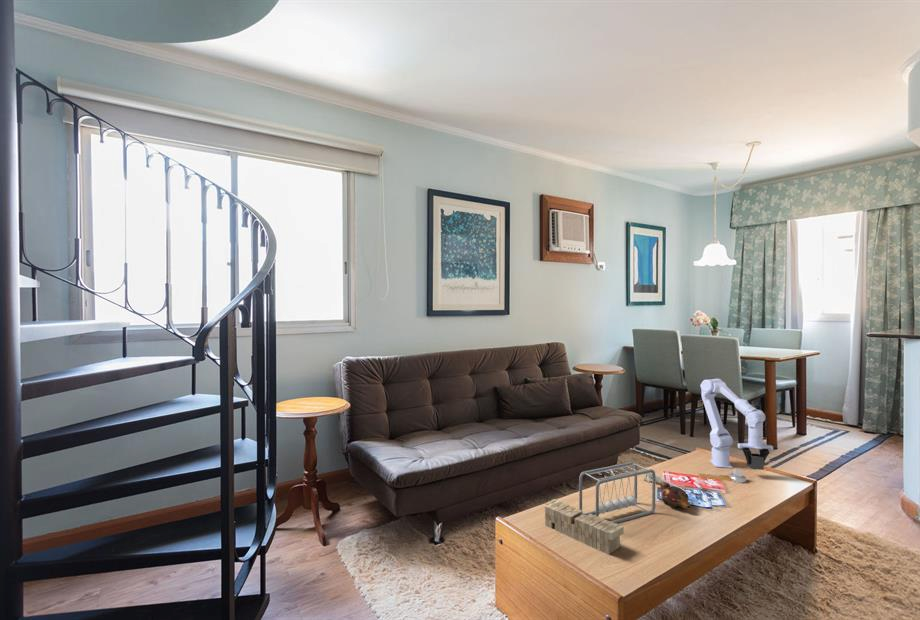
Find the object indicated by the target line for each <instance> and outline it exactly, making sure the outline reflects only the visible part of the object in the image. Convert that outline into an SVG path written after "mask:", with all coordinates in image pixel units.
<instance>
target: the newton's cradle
mask: <svg viewBox="0 0 920 620" xmlns="http://www.w3.org/2000/svg"><path fill="white" fill-rule="evenodd" d="M631 467H634V468H632V470H633V471H630V472H629V471H628V472H625V473H622V469H624V468H627V469H629V468H631ZM638 467H639V468H642V469H639V470H638ZM619 469H620V471H619V472H618V471H617V470H619ZM610 471H612V475H611V476H607V475H605V477H602V478H600V476H599V475H600V474H601V473H604V472H605V473H607V472H610ZM614 472H617V473H618V474H615V473H614ZM646 473H652V479H651V483H652V484H651V489H652V490H651V491H652V493H651V496H652V497H651V500H652V501H651V502H652V503H651V506H652V507H651V509H650V510H648V509H646V508H644V507H642V506H641V505H639V504H638V476H640V475H644V474H646ZM595 474H597V475H598V478H596V477H594V476H592V475H595ZM584 475H586V476H589V477H590V478H592V479H593V480H596V481H597V482H596V483H595V510H592V511H589V512H588V511H587V512H583V515H585V516H587V515H589V514H593V515H595V516H598V517H600V514H602V515H603V514H605V513H607V511H608V512H610V513H611V512H614V511H615V510H622V508H624V509H627V508H629V507H630V506H631V507H635V506H637V507H639V508H640V509H643V512H640V513H637V514H633V515H629V516H626V517H622V518H617V519H615V520H611V521H610V520H609V521H610V522H613V523H616V524H620V523H622V522H625V521H630V520H633V519H638V518H641V517H644V516H648V515H652V514H654V512H655V510H656V481H655V475H656V472H655V470H654V469H652V468H651V469H648V468H647V467H644V466H641V465H639V464H637V463H636V462H635V461H630V462H624V463H620V464H619V463H618V464H615V465H610V466H606V467H605V466H604V467H599V468H595V469H590V470H585V471H582V472H580V474H579V477H578V480H579V481H578V489H579V490H578V491H579V492H578V495H579V496H578V497H579V499H578V502H579V503H578V507H579V508H578V509H579V510H582V511H583V477H584ZM632 477H633V478H634V479H633V480H634V481H633V491H632V488H631V486H629V487H628V485H629V484H631V483H630V481H631V480H630V478H632ZM626 478H628V479H627V482H628V484H627V485H626V488H630V489H629V491H632V494H630V496H623V497H622V498H621V499H619V497H620V496H618V497H617V493H615V498H616V499H613V501H612V498H613V495H611V496H610V493H609V491H607V493H608V496H610V499H608V501H606V503H604V502H600V500H599V499H602V500H604V499H605V496H603V497H602V494H601V493H600V489H601V487H600V485H601V484H605V486H604V489H607V488H609V487H608V486H609V485H608V483H609V482H613V483H612V486H614V487H615V490H614V488H612V491H611V493H613V491H617V489H616V487H617V486H615V482H616V481H618V480H620V481H623V479H626ZM621 486H622V487H624V484H623V482H621V483H620V484H619V488H621ZM606 487H607V488H606ZM605 492H606V490H604V492H603V495H605ZM620 492H621V489H619V493H618V494H620ZM622 492H623V494H625V495H627V493H628V490H626V492H625V491H624V489H622ZM644 510H645V512H644Z"/></svg>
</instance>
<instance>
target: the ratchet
mask: <svg viewBox="0 0 920 620" xmlns="http://www.w3.org/2000/svg"><path fill="white" fill-rule="evenodd" d="M732 469H733V472H732V473H728V475H727V474H725V475H724V474H711V473H710V474H709V473H698V474H697V476H699V477H700V478H708V479H707V480H709V479H719V480H718V481H723V480H725V481H724V482H726V480H727V482H733V481H734V482H733V483H736V482H737V484H745V482H746V483H747V477H746V476H745V475H743V474H742V472H743V471H742V469H740V468H736V467H733V468H732ZM699 477H698V478H699ZM700 478H699V479H700Z"/></svg>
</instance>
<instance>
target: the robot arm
mask: <svg viewBox="0 0 920 620" xmlns="http://www.w3.org/2000/svg"><path fill="white" fill-rule="evenodd" d="M700 389H701V392H700V393H701V399H702V402H703V405H704V408H705V412H706V415H707V417H708V421H709V424H710V427H711V430H710V433H709V441H710V444H711V446H712V447H711V459H709V462H710V463H711V464H712V465H713V466H714V467H715V468H727V469H728V468H729V469H730V468H731V469H733V468H734V467H733V465H731V463H730V457H731V455H730V453H731V452H730V449H731V446H733V444H734V440H733V437H732V436H731V434H730V433H729V431H728V429H726V428H724V424H723V421H722V419H721V416H720V412H719V409H718V406H717V404H716V403H717V402H716V400H715V397H716V395H717V394H721V395H723V396H724V397H726V398H727V399H728V400H729V401H730V402H732V403H733V404H734V407H735V408H736V410H738V412H739V413H741V414H742V415H743V416H744V417H745V420H746V421H747V425H748V428H747V429H748V432H747V433H748V434H747V435H748V436H747V437H748V438H747V442H745V443H744V442H742V443H741V442H739V443H737V448H738V449H739V450H740V449H741V450H742V452H743V455H744V456H745V460H746V464H747V463H748V464H750V456H751V453H752V451H751V450H759V454H760V455H761V456H763V457H764V463H765V461H766V459H767V457H768V456H769V455H770V451H774V446H773V445H771V444H763V442H764V441H763V438H764V436H763V433H764V430H763V429H764V425H763V424H764V422H765V420H766V414H765V413H764V412H763V410H761V409H757V407H754V406H753V405H752V404H751V403H750V402H749V401H748V399H745V398H740V397H739V396H737V394H736V393H734V392H733V391H732V390H731V389H730V387H728V386H727V384H726V382H724V381H723V380H722V379H721V378H713V379H703V381H702V382H701V383H700Z"/></svg>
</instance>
